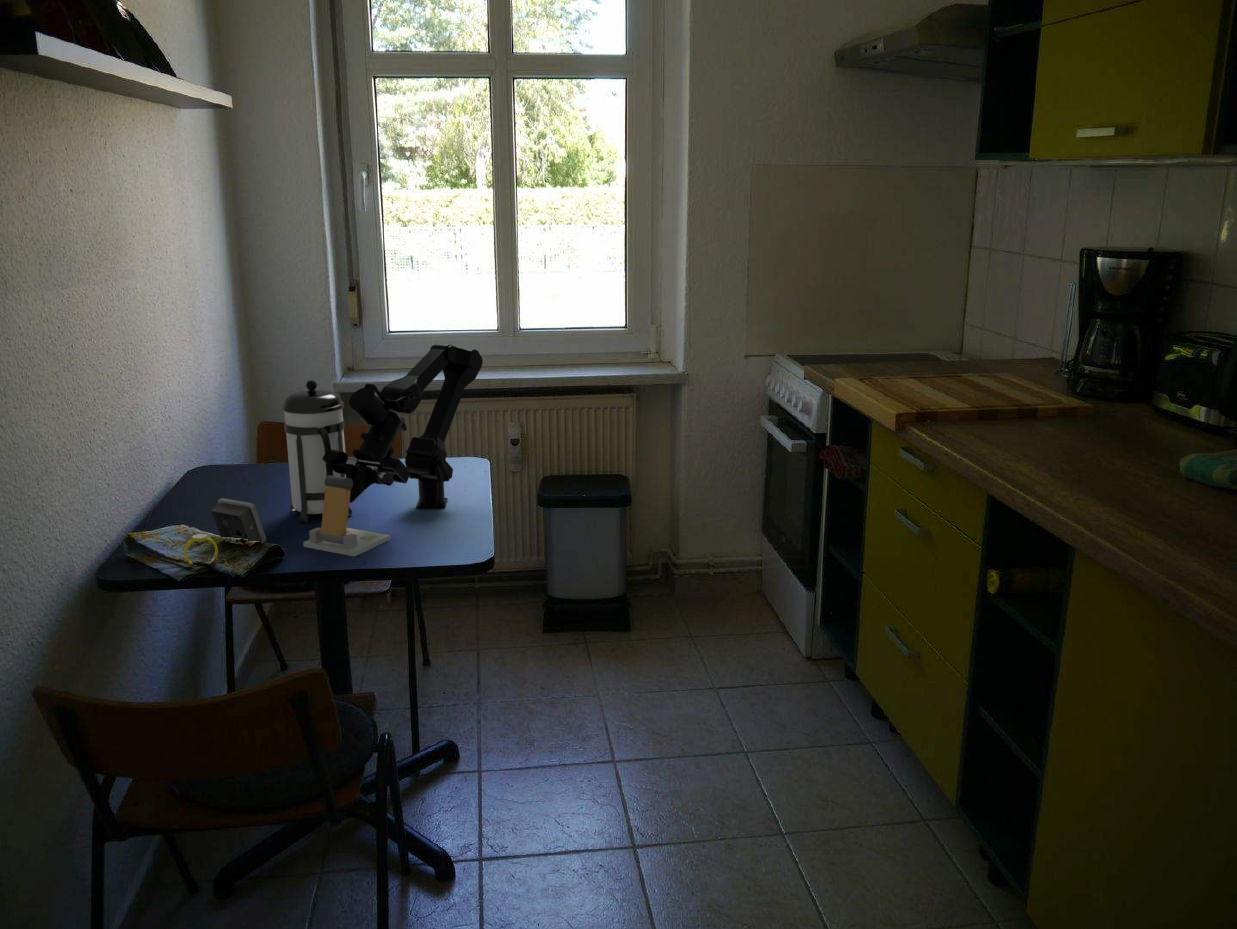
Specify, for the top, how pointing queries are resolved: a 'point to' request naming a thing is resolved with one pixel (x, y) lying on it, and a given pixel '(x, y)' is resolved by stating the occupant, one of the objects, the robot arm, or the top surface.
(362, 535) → the switch base
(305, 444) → the coffee press
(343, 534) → the lever
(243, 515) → the electrical switch
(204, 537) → the watch
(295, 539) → the top surface
